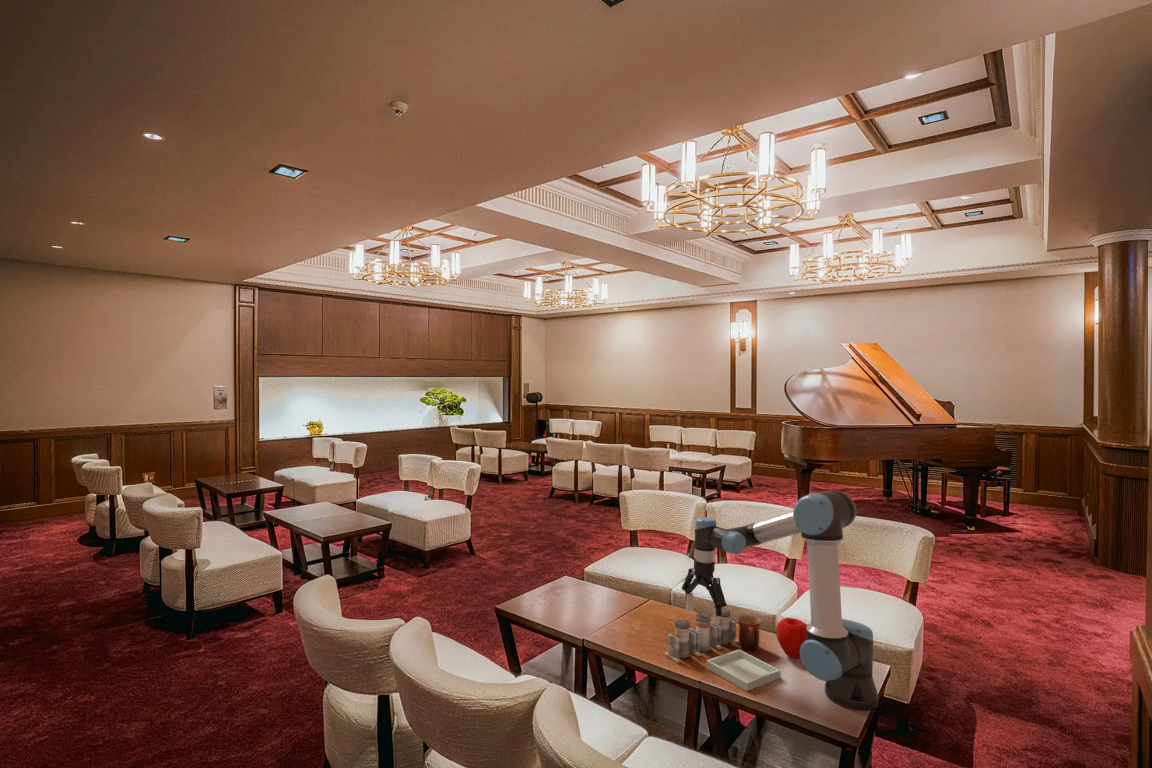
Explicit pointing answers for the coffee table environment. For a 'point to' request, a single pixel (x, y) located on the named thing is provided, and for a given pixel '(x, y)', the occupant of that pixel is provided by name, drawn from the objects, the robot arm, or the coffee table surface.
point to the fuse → (703, 631)
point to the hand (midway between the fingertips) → (702, 617)
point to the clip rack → (690, 638)
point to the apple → (791, 636)
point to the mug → (749, 632)
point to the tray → (743, 669)
